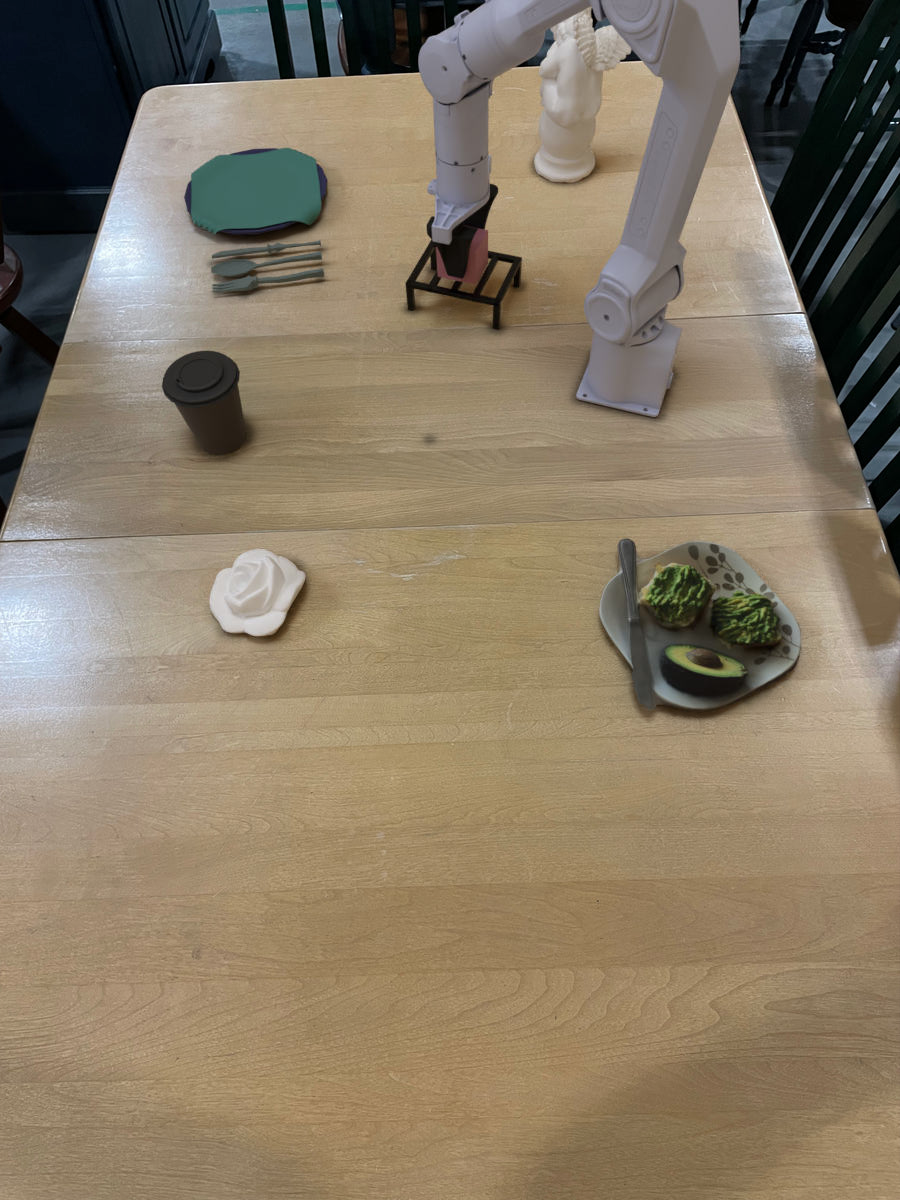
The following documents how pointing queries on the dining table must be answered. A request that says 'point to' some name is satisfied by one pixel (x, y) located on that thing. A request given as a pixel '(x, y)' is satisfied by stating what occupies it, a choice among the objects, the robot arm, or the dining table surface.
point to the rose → (255, 593)
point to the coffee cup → (208, 399)
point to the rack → (454, 290)
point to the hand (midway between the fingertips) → (464, 260)
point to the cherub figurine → (574, 95)
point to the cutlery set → (257, 206)
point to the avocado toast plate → (697, 626)
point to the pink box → (470, 259)
